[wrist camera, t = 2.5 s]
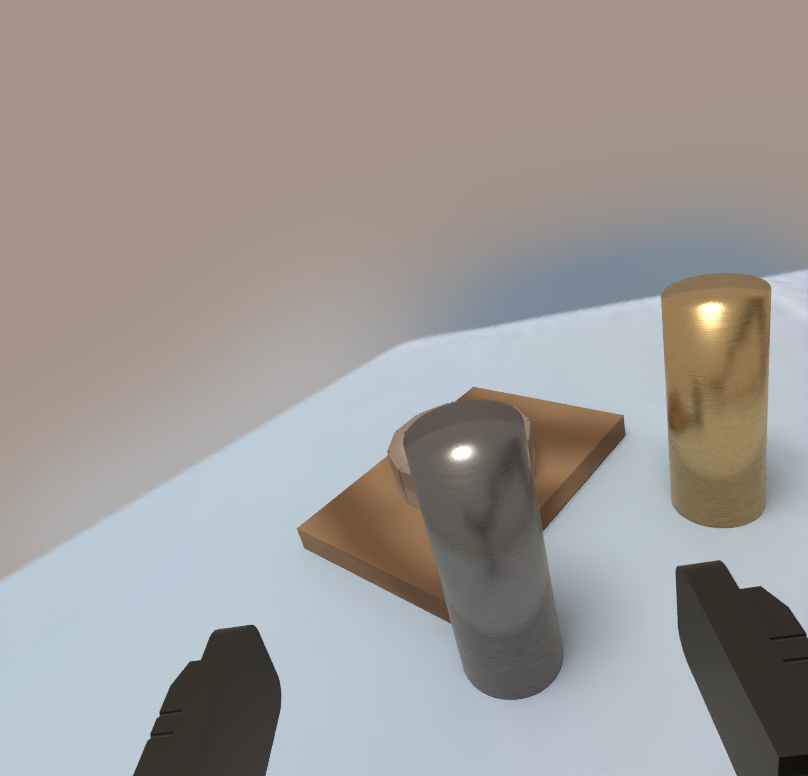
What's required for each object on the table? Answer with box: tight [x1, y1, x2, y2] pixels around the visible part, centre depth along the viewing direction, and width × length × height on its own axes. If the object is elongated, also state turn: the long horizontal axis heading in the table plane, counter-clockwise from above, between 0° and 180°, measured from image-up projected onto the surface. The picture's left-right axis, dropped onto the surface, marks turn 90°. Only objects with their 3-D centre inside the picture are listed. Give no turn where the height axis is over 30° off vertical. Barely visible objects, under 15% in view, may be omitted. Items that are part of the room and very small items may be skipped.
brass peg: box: [661, 273, 771, 528], centre depth 32 cm, size 4×4×12 cm
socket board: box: [297, 387, 625, 623], centre depth 39 cm, size 18×12×4 cm, turn 138°
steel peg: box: [403, 400, 563, 699], centre depth 26 cm, size 4×4×12 cm
